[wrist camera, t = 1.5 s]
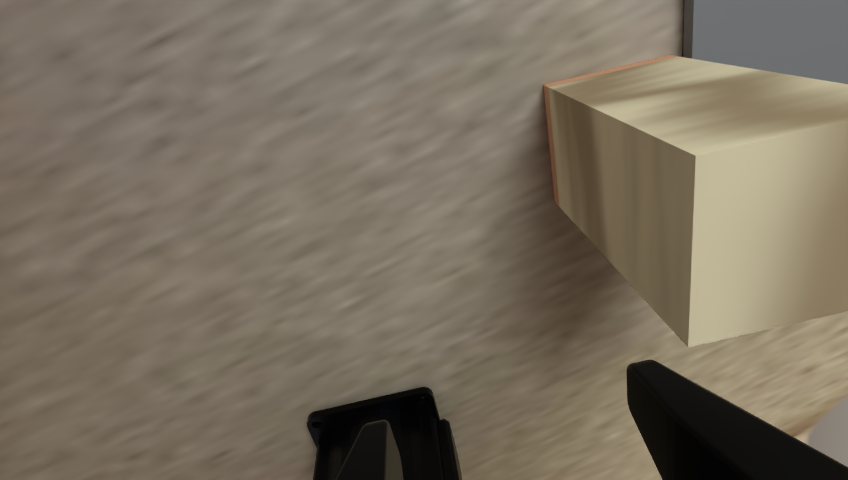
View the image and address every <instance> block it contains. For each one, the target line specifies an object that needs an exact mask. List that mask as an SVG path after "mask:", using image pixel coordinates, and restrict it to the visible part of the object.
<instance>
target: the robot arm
mask: <svg viewBox="0 0 848 480" xmlns="http://www.w3.org/2000/svg"><path fill="white" fill-rule="evenodd" d="M421 397H426V398H421ZM627 400H628V405H629V409H630V412H631V414H632V416H633V418H634V421H635V423H636V425H637V427H638V429H639V431H640V433H641V435H642V437H643V439H644V442H645V444H646V446H647V448H648V450H649V452H650V454H651V456H652V458H653V461H654V463H655V465H656V467H657V469H658V471H659V473H660V475H661V477H662V479H663V480H848V467H846V466H845V465H843V464H841V463H839V462H838V461H836V460H834V459H832V458H830V457H828V456H827V455H825V454H823V453H821V452H819V451H818V450H816V449H814V448H812V447H810V446H809V445H807V444H805V443H803V442H801V441H800V440H798V439H796V438H794V437H792V436H790V435H789V434H787V433H785V432H783V431H781V430H780V429H778V428H776V427H774V426H772V425H771V424H769V423H767V422H765V421H763V420H761V419H760V418H758V417H756V416H754V415H752V414H751V413H749V412H747V411H745V410H743V409H742V408H740V407H738V406H736V405H734V404H733V403H731V402H729V401H727V400H725V399H723V398H722V397H720V396H718V395H716V394H714V393H713V392H711V391H709V390H707V389H705V388H704V387H702V386H700V385H698V384H696V383H694V382H693V381H691V380H689V379H687V378H685V377H684V376H682V375H680V374H678V373H676V372H675V371H673V370H671V369H669V368H667V367H666V366H664V365H662V364H660V363H658V362H656V361H654V360H645V361H641V362H636V363H632V364H630V365H628V367H627ZM315 421H320V422H315ZM307 427H308V429H309V431H310V434H311V436H312V438H313V441H314V443H315V445H316V447H317V454H316V462H315V469H314V477H313V480H462V476H461V471H460V465H459V460H458V454H457V450H456V446H455V442H454V439H453V435H452V431H451V427H450V423H449V422H448V421H447V420H445V419H442V420H440V418H439V414H438V410H437V407H436V403H435V399H434V396H433V392H432V390H431V389H429V388H426V387H421V388H416V389H412V390H408V391H403V392H399V393H394V394H390V395H386V396H381V397H377V398H373V399H368V400H364V401H359V402H355V403H351V404H346V405H342V406H337V407H333V408H329V409H324V410H320V411H316V412H313V413H311V414H310V415H309V417H308V421H307Z"/></svg>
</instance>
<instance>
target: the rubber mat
mask: <svg viewBox="0 0 848 480" xmlns="http://www.w3.org/2000/svg"><path fill="white" fill-rule="evenodd" d="M683 57H685V58H691V59H697V60H703V61H709V62H715V63H721V64H727V65H733V66H739V67H745V68H752V69H758V70H764V71H770V72H776V73H782V74H788V75H794V76H800V77H806V78H812V79H818V80H825V81H831V82H837V83H843V84H848V0H684V38H683Z"/></svg>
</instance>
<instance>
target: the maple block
mask: <svg viewBox="0 0 848 480" xmlns="http://www.w3.org/2000/svg"><path fill="white" fill-rule="evenodd" d="M543 86H544V97H545V107H546V117H547V127H548V137H549V147H550V157H551V168H552V178H553V188H554V198H555V203H556V204H557V205H558V206H559V207H560V208H561V209H562V210H563V211H564V213H565V214H566V215H567V216H568V217H569V218H570V219H571V220H572V221H573V222H574V223H575V225H576V226H577V227H578V228H579V229H580V230H581V231H582V232H583V233H584V234H585V235H586V237H587V238H588V239H589V240H590V241H591V242H592V243H593V244H594V245H595V246H596V247H597V249H598V250H599V251H600V252H601V253H602V254H603V255H604V256H605V257H606V258H607V259H608V261H609V262H610V263H611V264H612V265H613V266H614V267H615V268H616V269H617V270H618V271H619V273H620V274H621V275H622V276H623V277H624V278H625V279H626V280H627V281H628V282H629V283H630V285H631V286H632V287H633V288H634V289H635V290H636V291H637V292H638V293H639V294H640V295H641V297H642V298H643V299H644V300H645V301H646V302H647V303H648V304H649V305H650V306H651V307H652V309H653V310H654V311H655V312H656V313H657V314H658V315H659V316H660V317H661V318H662V319H663V321H664V322H665V323H666V324H667V325H668V326H669V327H670V328H671V329H672V330H673V331H674V333H675V334H676V335H677V336H678V337H679V338H680V339H681V340H682V341H683V342H684V343H685V345H686V346H687V347H692V346H697V345H701V344H706V343H710V342H714V341H719V340H723V339H728V338H732V337H736V336H741V335H745V334H750V333H754V332H758V331H763V330H767V329H772V328H776V327H780V326H785V325H789V324H794V323H798V322H802V321H807V320H811V319H816V318H820V317H824V316H829V315H833V314H837V313H842V312H846V311H848V84H843V83H837V82H831V81H825V80H818V79H812V78H806V77H800V76H794V75H788V74H782V73H776V72H770V71H764V70H758V69H752V68H745V67H739V66H733V65H727V64H721V63H715V62H709V61H703V60H697V59H691V58H685V57H679V56H672V55H668V56H664V57H660V58H655V59H651V60H647V61H643V62H638V63H634V64H630V65H626V66H621V67H617V68H613V69H608V70H604V71H600V72H596V73H591V74H587V75H583V76H579V77H574V78H570V79H566V80H562V81H557V82H553V83H549V84H545V85H543Z"/></svg>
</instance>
